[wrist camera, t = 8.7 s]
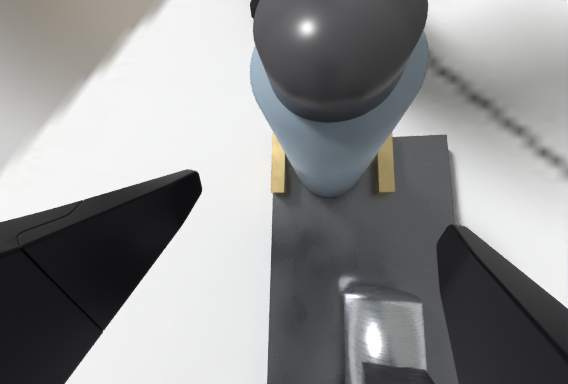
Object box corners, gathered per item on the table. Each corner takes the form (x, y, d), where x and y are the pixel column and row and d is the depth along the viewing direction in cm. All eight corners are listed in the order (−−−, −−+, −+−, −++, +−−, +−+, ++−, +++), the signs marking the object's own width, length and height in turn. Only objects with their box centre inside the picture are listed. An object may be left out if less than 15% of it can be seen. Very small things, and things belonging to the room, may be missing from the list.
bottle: (375, 178, 17) (513, 39, 5) (313, 208, 18) (280, 157, 5) (343, 122, 18) (382, -115, 6) (286, 151, 19) (203, -5, 6)
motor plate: (460, 428, 15) (570, 591, 8) (271, 396, 18) (236, 504, 11) (436, 136, 18) (501, 81, 11) (278, 143, 21) (255, 101, 14)
